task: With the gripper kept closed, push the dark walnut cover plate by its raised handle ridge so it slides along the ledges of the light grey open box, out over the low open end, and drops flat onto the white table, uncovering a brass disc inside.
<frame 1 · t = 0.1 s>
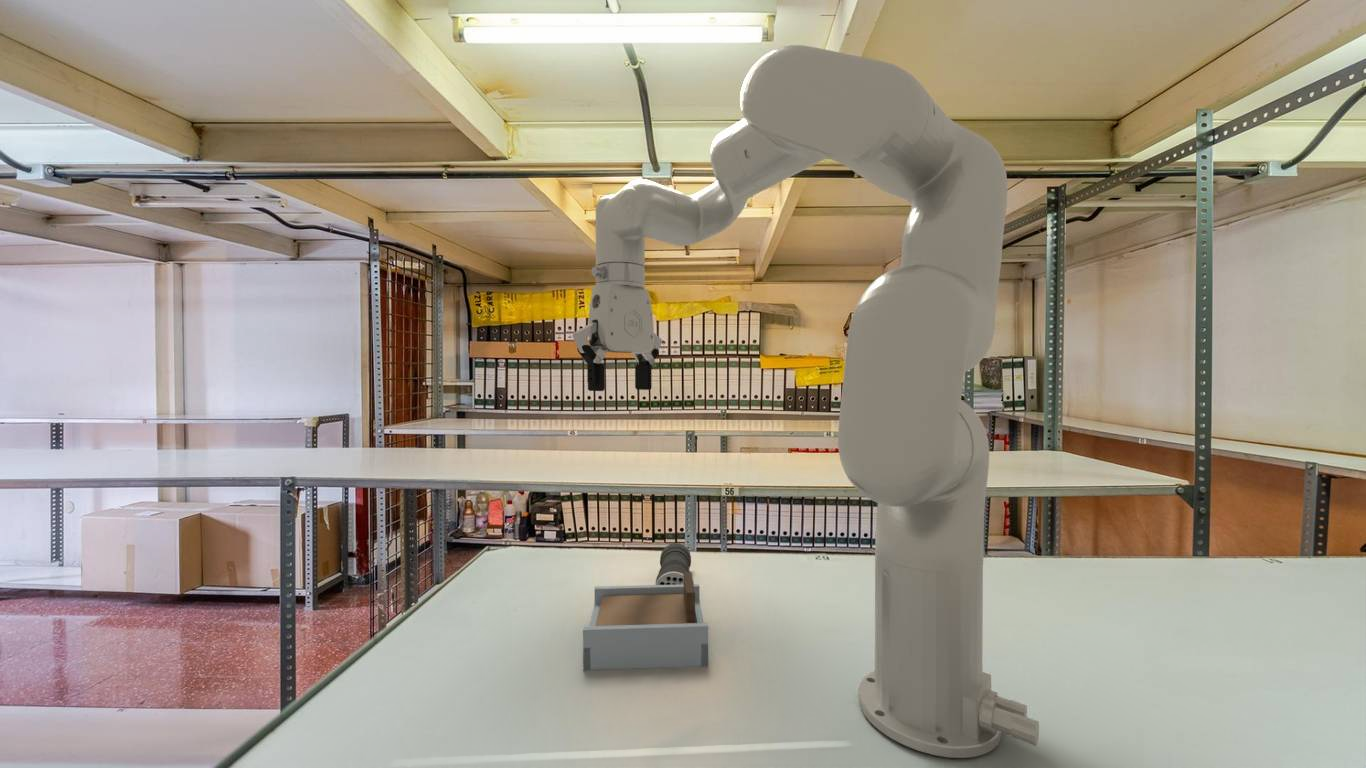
hand: (620, 390, 80), 31 cm above the table, fingers open, 9 cm apart
light grey open box: (646, 644, 64), on the table
cover plate: (646, 620, 64), point 3 cm above the table, touching light grey open box
flashlight: (675, 591, 81), on the table
brass disc: (635, 635, 66), resting on light grey open box
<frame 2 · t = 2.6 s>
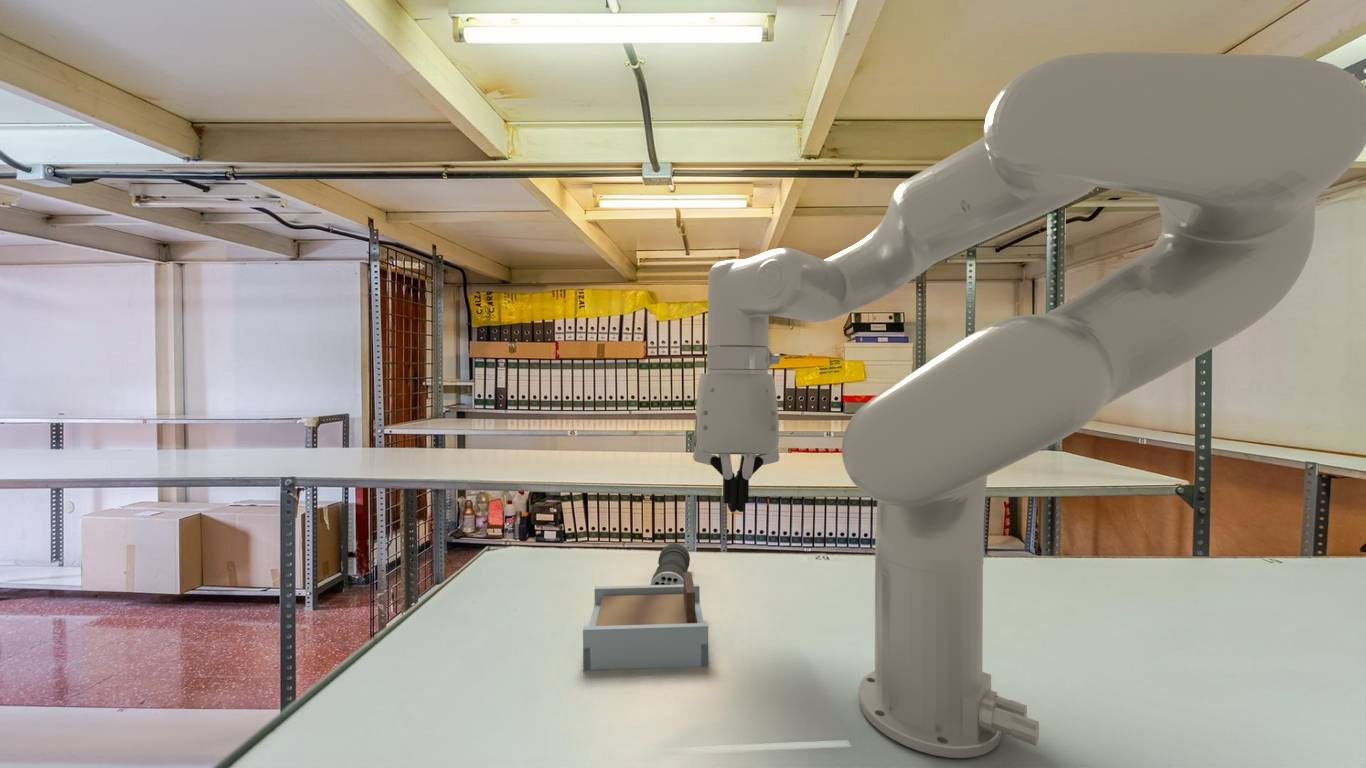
hand: (735, 508, 65), 17 cm above the table, fingers closed
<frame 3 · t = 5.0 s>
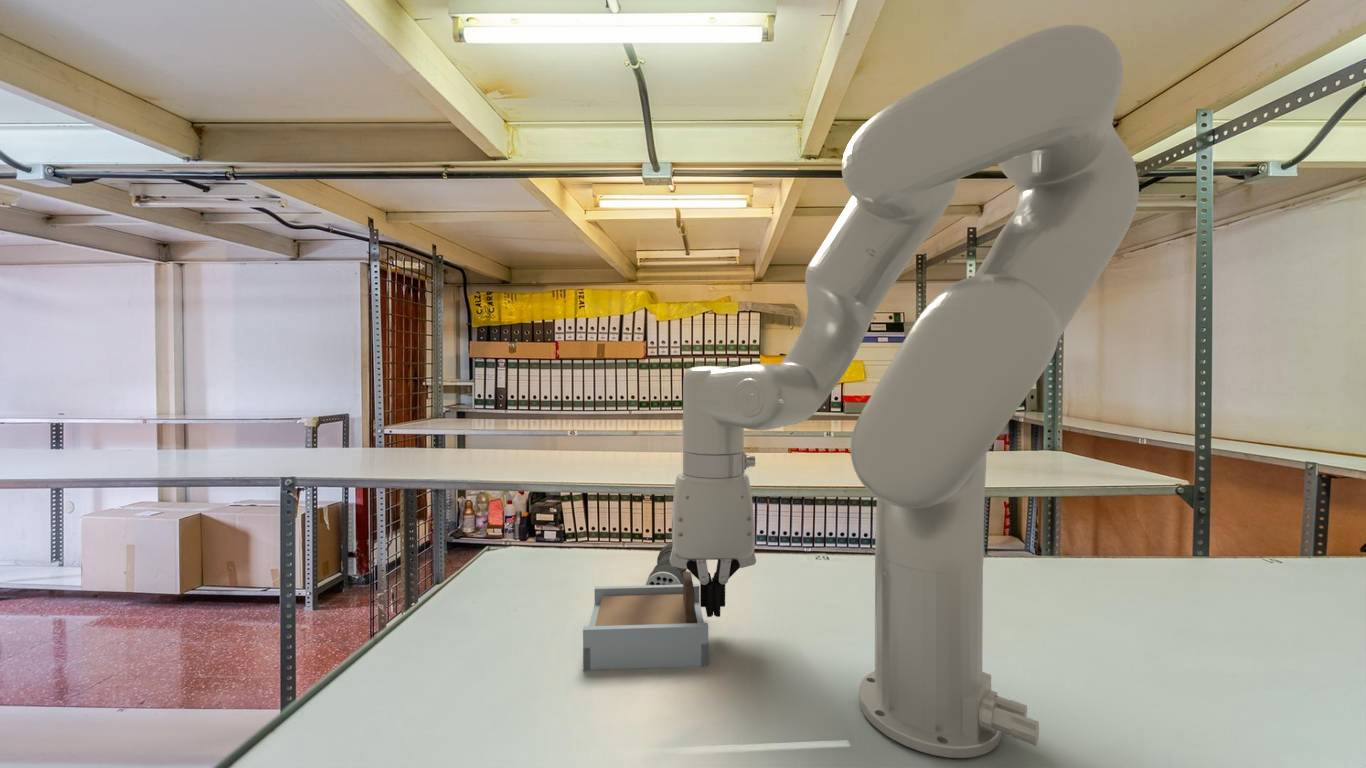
hand: (712, 611, 65), 4 cm above the table, fingers closed
cover plate: (646, 620, 64), point 3 cm above the table, touching gripper, light grey open box
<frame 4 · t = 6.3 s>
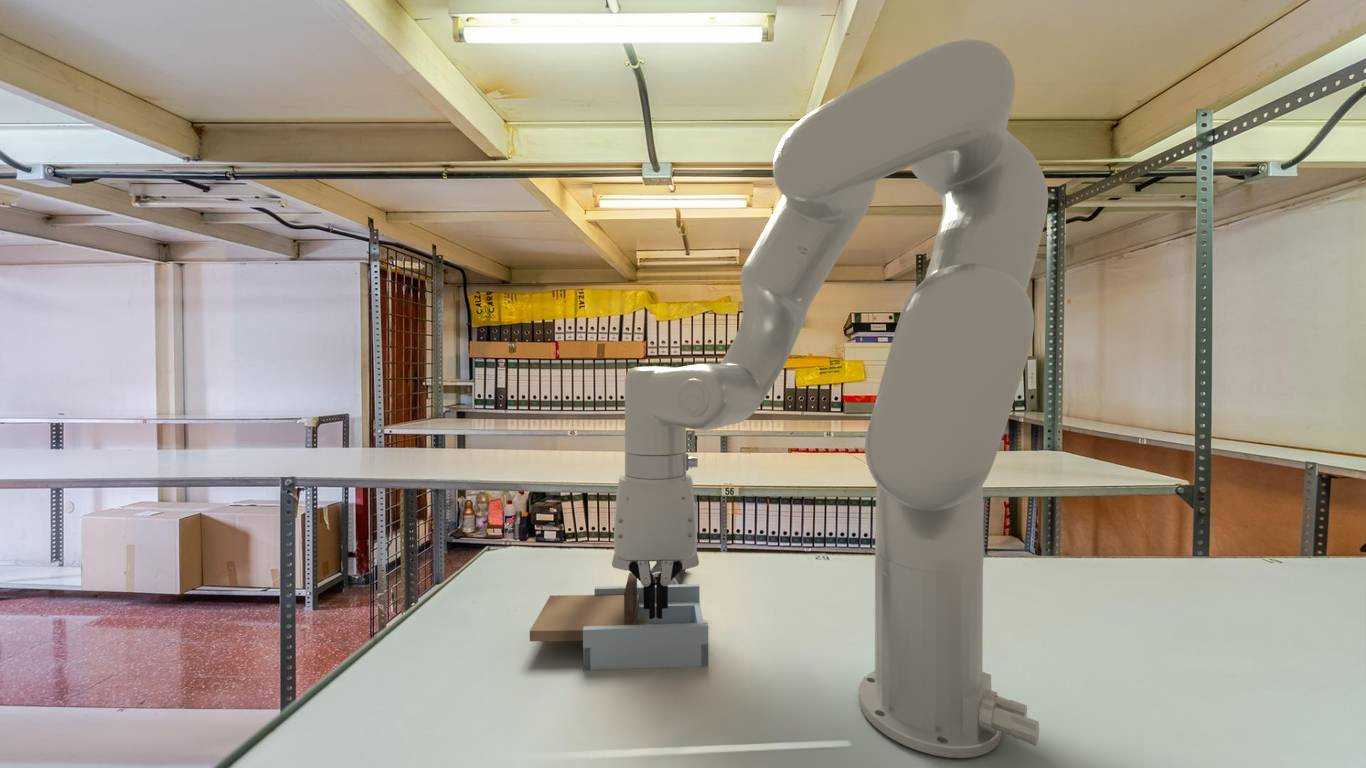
hand: (655, 613, 64), 4 cm above the table, fingers closed
cover plate: (588, 620, 64), point 3 cm above the table, touching gripper
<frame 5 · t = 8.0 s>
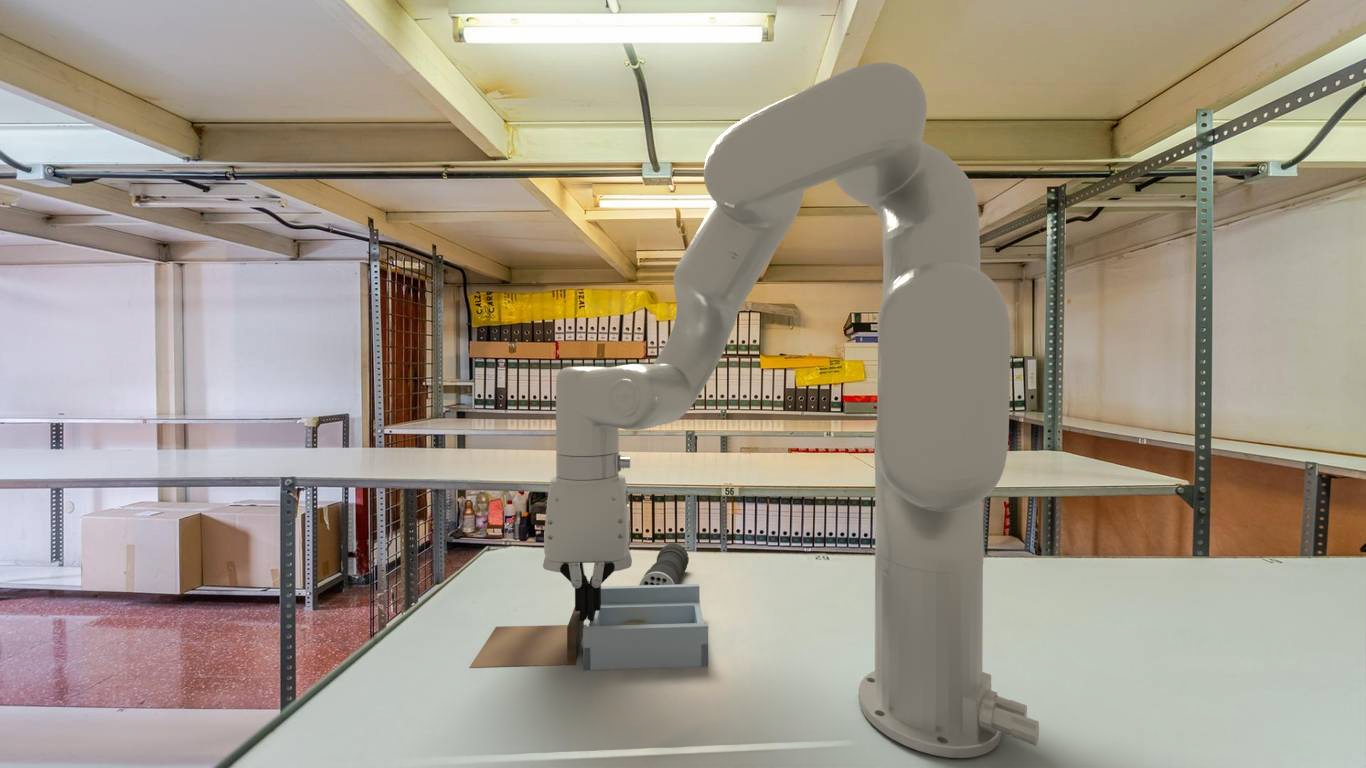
hand: (588, 615, 64), 4 cm above the table, fingers closed
cover plate: (532, 653, 64), on the table
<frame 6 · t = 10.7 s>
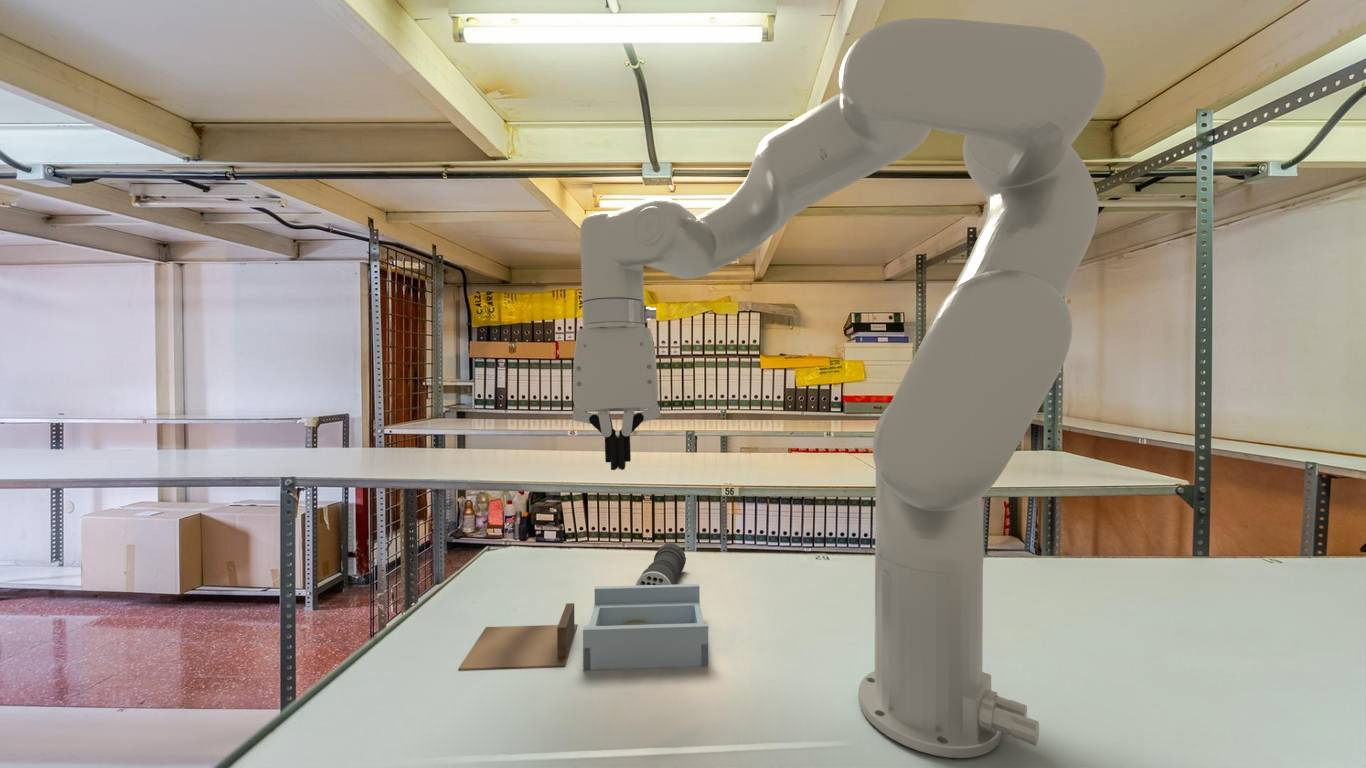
hand: (618, 467, 64), 22 cm above the table, fingers closed
cover plate: (522, 654, 63), on the table
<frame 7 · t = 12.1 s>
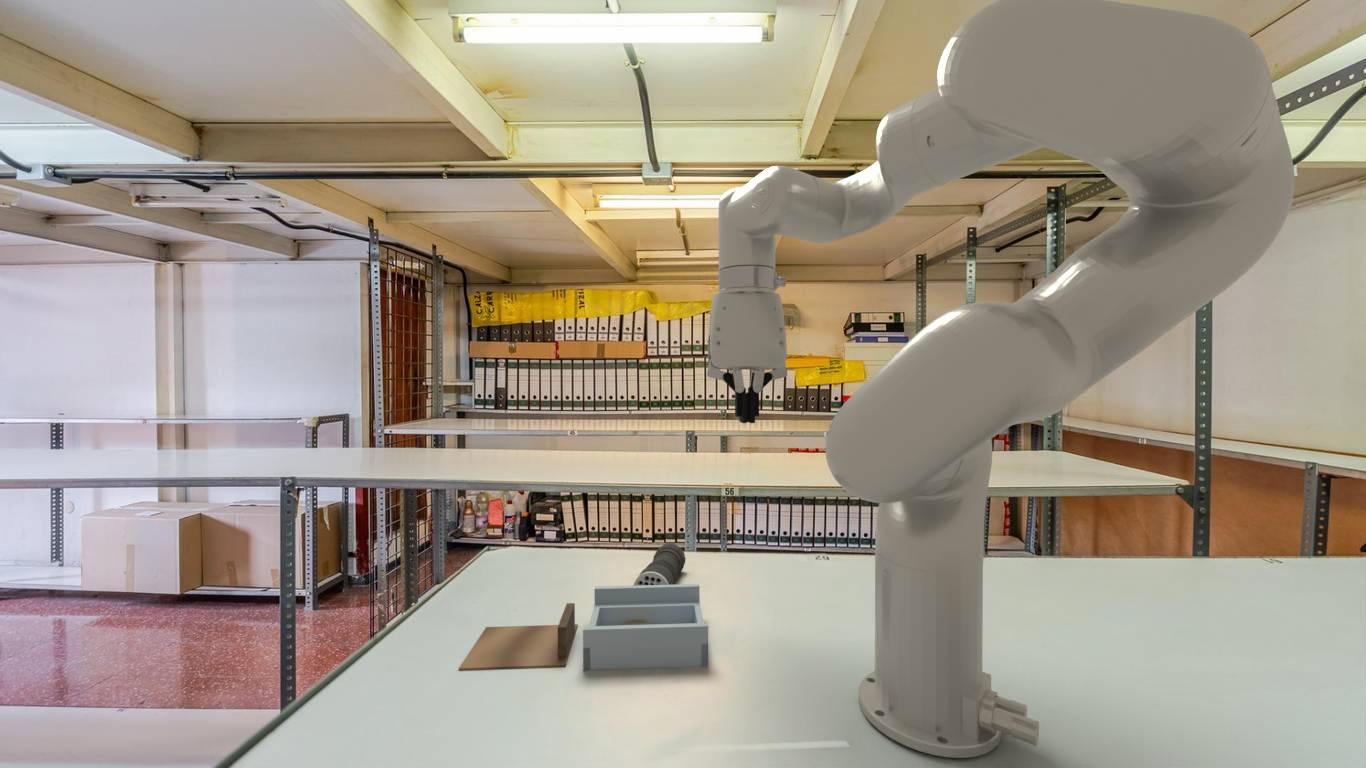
hand: (746, 422, 70), 27 cm above the table, fingers closed
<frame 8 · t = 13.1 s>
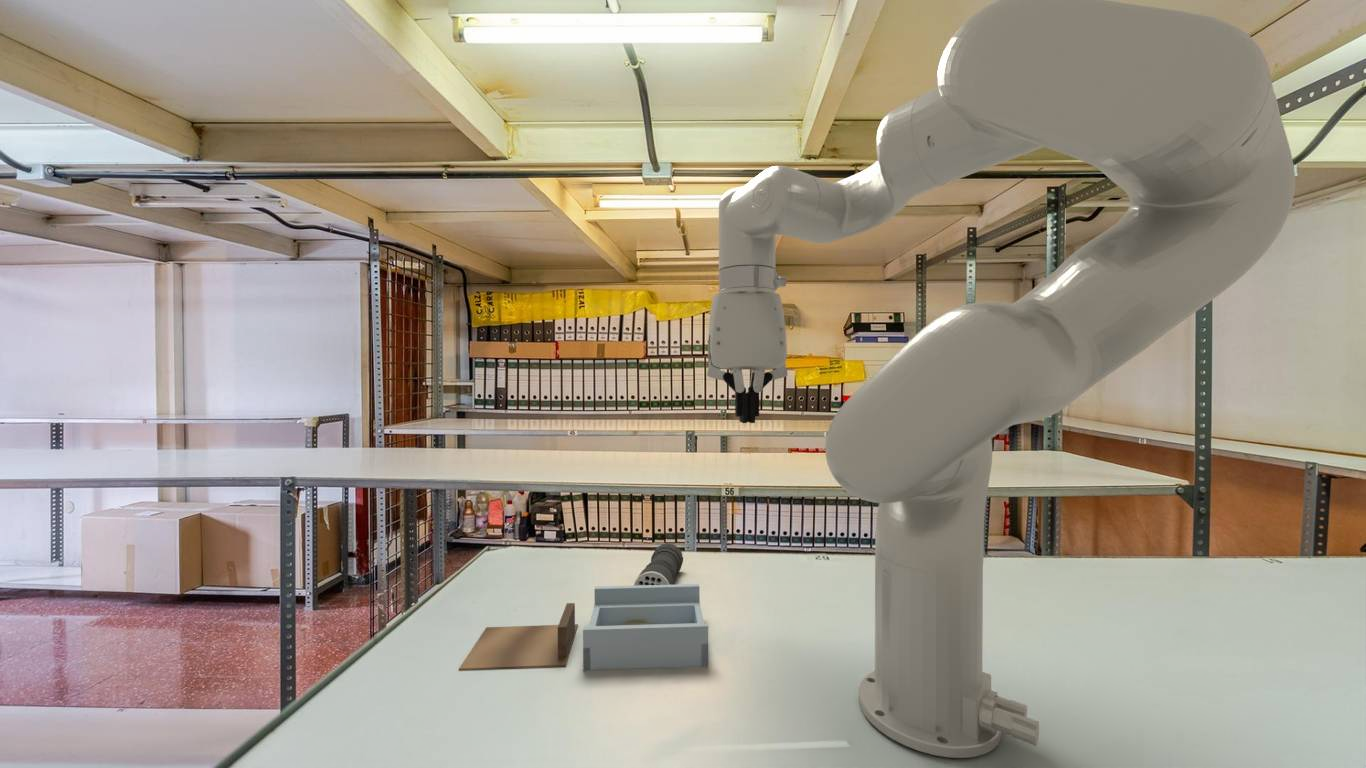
hand: (747, 421, 70), 27 cm above the table, fingers closed
at the end: cover plate on the table; cover plate tilted 0°; cover plate inside the target area on the table beside the light grey open box (2.7 cm from its centre), on the table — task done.
